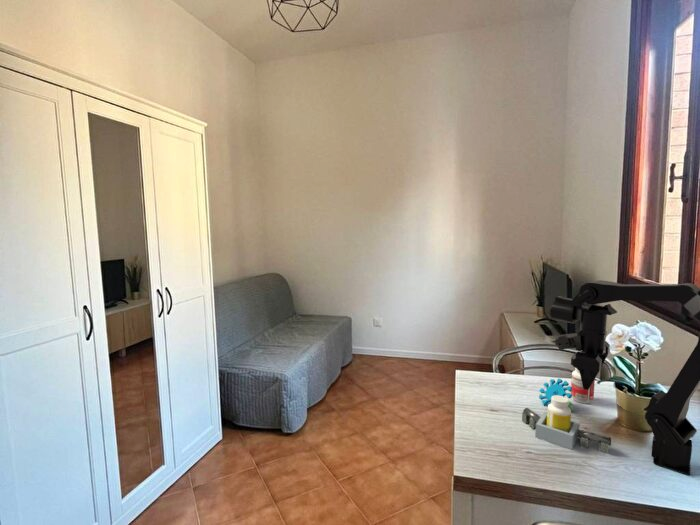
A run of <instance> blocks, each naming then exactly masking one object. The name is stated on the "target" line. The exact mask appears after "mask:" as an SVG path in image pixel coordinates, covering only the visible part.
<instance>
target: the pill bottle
mask: <svg viewBox="0 0 700 525" xmlns="http://www.w3.org/2000/svg"><path fill="white" fill-rule="evenodd" d="M595 379H596V378H595ZM595 379H594V381H593V383H592V384H591V386H590V388H589V390H586V389H583V385H582V380H581V376H580V372H579V370H578V369H577V368H575V367H574V370H573V371H572V373H571V384H570V386H571V387H572V391H571V392H570V394H571V395H572V397H571V398H570V399H572V400H573V401H574V402H576V403H581V404H592V403H593V402H594V398H595V385H596V384H595V383H596V382H595V381H596V380H595Z"/></svg>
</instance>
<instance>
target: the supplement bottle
mask: <svg viewBox="0 0 700 525" xmlns="http://www.w3.org/2000/svg"><path fill="white" fill-rule="evenodd" d="M569 401H570V400H569V398H568V397H565V396H564V397H563V396H559V395H554V396H552V397H551V402H550V403H551V404H549V403H548V404H549V405H548V404H547V410H546V412H547V426H549V427H552V428H555V429H558V430H561V431H564V432H567V433H569V432H570V422H571V420H572V411H571V410H570V408H569V407H568V405H569Z"/></svg>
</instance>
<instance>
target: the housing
mask: <svg viewBox="0 0 700 525" xmlns="http://www.w3.org/2000/svg"><path fill="white" fill-rule="evenodd" d="M540 417H541V418H540V419H539V420H538V422H537V423H536V429H535V433H534V434H535V435H534V436H535V438H537V439H539V440H542V441H545V442H548V443H551V444H553V445H557V446H560V447H563V448H565V449H569V450H573V449H574V446H575V444H576V442H577V440H578V437H577V432H578V429H579V430H580V424H581V422H580V421H578V420H574V419H571V422H570V432H569V433H567V432H564V431H561V430H558V429H555V428H552V427H549V426H547V411H544V412H543V413H542V415H541V416H540Z"/></svg>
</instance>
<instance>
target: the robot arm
mask: <svg viewBox="0 0 700 525" xmlns="http://www.w3.org/2000/svg"><path fill="white" fill-rule="evenodd" d="M578 291H579V293H578V294H577V295H576V296H575V297H573V298H569V297H565V296H562V295H561V296H560V295H559V296H555V297H554V298H555V299H554V301H553V303H552V305H551V308H550V309H549V314H550V317H551V319H552V320H556V321H561V322H565V323H570V324H574V325H575V324H577V322H580V329H579V330H578V331H577V332H575V333H565V334H560V335H557V336H556V338H555V343H554V344H555V346H557V348H558V351H563V350H566V349H575V351H576V352H575V353H574V354H573V355H572V356H571V358H570V365H571V366H573V368H574V369H575V368H577V369H578V370H579V372H580V376H581V380H582V385H583V389H586V390H589V388H590V386H591V384H592V383H593V381H594V379H596V378H597V376H598V374H599V372H600V371H601V368H602V366H603V364H604V362H605V361H606V359H607V357H608V356H609V353H610V348H611V345H610V344H609V342H608V341H607V340H606V337H607V335H608V331H607V320H608V316H612V315H616V314H617V313H618V311H617V310H616V309H615V308H614V307H612V305H611V304H610V303H614V302H618V301H619V302H620V301H634V302H635V301H636V302H637V301H640V302H676V303H677V302H678V303H679V304H681V305H682V306H683V307H684V308H685V309H686V310H687V311H688V312H689V313H690V314H691V315H692V316H693V317H694V318H695V319H696V320H698V321H699V322H700V287H698V286H697V285H696V284H695V283H694V284H693V283H689V282H686V283H685V282H684V283H681V284H679V283H677V284H676V283H673V284H672V283H671V284H669V283H668V284H666V283H665V284H664V283H663V284H662V283H661V284H660V283H659V284H655V283H654V284H648V283H647V284H645V283H644V284H626V283H625V284H624V283H618V282H614V281H608V280H600V279H598V280H593V281H590V282H589V281H588V282H585V283H583V284H582V285H581V286H580V288H579V290H578ZM586 304H588V305H590V306H587V305H586ZM598 304H605V305H598ZM697 338H698V339H697V342H696V345H695V347H694V348H693V350H692V352H691V353H690V355H689V357H687V360H686V361H685V363H684V365H683V367H682V368H681V369H680V371H679V373H678V374H677V375H676V378H675V379H674V380H673V381H672V383H671V386H670V387H669V388H668V390H667V392H665V391H663V390H660V391H657V392H656V393H654V395H652V396H651V398H650V400H649V404H648V405H647V406H646V407H644V408H643V411H646V412H645V414H644V419H645V420H646V423H647V425H648V426H649V427H650V428H651V431H652V434H653V437H652V443H651V444H652V445H651V453H650V454H651V455H650V456H651V457H652V458H653V461H652V463H653V464H655V465H657V466H660V467H663V468H666V469H668V470H671V471H675V472H678V473H680V474H684V475H687V476H691V473H692V472H691V459H692V450H693V440H692V438H694V436H696V433H697V432H698V430H697V428H695V426H694V425H693V424H692V423H691V422H690V420H688V418H687V414H688V412H689V408H690V407H689V406H690V401H691V399H692V397H693V395H694V394H695V393H696V391H697V389H698V388H699V386H700V330H699V331H698V337H697Z"/></svg>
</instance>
